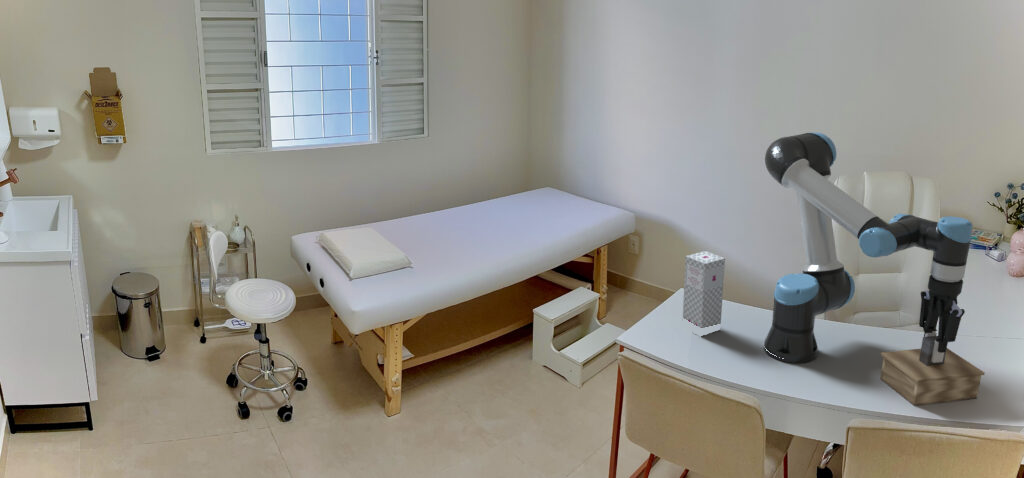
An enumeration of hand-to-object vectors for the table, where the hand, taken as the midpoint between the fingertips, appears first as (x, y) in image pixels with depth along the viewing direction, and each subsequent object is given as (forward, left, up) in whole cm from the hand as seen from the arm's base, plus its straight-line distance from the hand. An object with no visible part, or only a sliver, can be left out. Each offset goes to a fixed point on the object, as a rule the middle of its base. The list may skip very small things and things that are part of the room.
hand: (932, 358), depth 191 cm
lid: (0, 0, -2) cm, 2 cm away
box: (-45, +47, -9) cm, 66 cm away
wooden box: (0, 0, -9) cm, 9 cm away
